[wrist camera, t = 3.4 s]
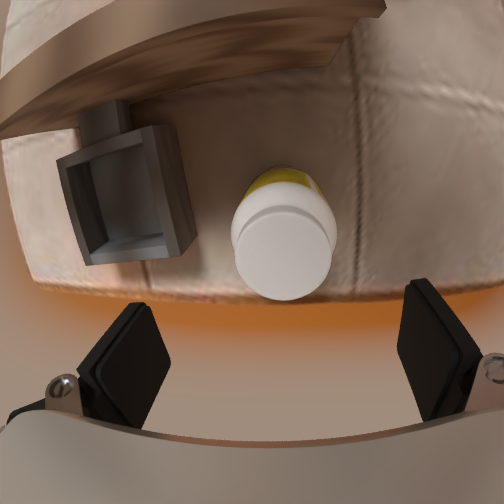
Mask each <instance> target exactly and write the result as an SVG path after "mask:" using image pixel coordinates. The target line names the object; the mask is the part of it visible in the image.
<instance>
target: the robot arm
mask: <svg viewBox="0 0 504 504" xmlns="http://www.w3.org/2000/svg"><path fill="white" fill-rule="evenodd" d="M397 351H398V355H399V357H400V360H401V362H402V365H403V367H404V370H405V373H406V375H407V378H408V381H409V383H410V386H411V389H412V391H413V394H414V397H415V400H416V402H417V406H418V408H419V411H420V414H421V418H422V420H423V422H422V423H418V424H414V425H410V426H405V427H400V428H396V429H390V430H384V431H379V432H373V433H367V434H361V435H354V436H346V437H338V438H330V439H329V438H328V439H317V440H301V441H274V442H273V441H272V442H271V441H270V442H269V441H267V442H266V441H265V442H264V441H263V442H262V441H261V442H260V441H258V442H257V441H230V440H215V439H203V438H194V437H185V436H177V435H170V434H163V433H157V432H151V431H146V430H141V428H142V426H143V424H144V422H145V420H146V418H147V415H148V413H149V411H150V409H151V407H152V405H153V402H154V400H155V398H156V396H157V394H158V392H159V390H160V387H161V385H162V383H163V381H164V379H165V377H166V375H167V372H168V370H169V368H170V365H171V360H170V357H169V354H168V352H167V349H166V347H165V344H164V342H163V340H162V337H161V334H160V332H159V329H158V327H157V324H156V321H155V319H154V316H153V313H152V311H151V308H150V307H149V306H147V305H146V304H145V303H144V302H136V303H135V302H134V303H130V304H128V306H127V307H126V308H125V309H124V310H123V312H122V313H121V314H120V315H119V316H118V317H117V319H116V320H115V321H114V322H113V324H112V325H111V326H110V327H109V329H108V330H107V331H106V332H105V333H104V335H103V336H102V337H101V338H100V340H99V341H98V342H97V343H96V345H95V346H94V347H93V348H92V350H91V351H90V352H89V354H88V355H87V356H86V358H85V359H84V360H83V361H82V363H81V364H80V365H79V367H78V368H77V372H78V373H79V375H80V377H79V378H78V379H77V377H76V376H75V375H72V374H63V375H60V376H58V377H56V378H54V379H53V380H52V381H51V382H50V383H49V384H48V386H47V388H46V392H45V398H44V399H42V400H40V401H37V402H34V403H32V404H29V405H27V406H24V407H22V408H19V409H17V410H15V411H13V412H12V413H11V414H10V415H9V418H8V420H7V425H6V427H5V425H4V426H2V427H1V428H0V504H504V354H501V353H490V354H488V355H485V356H483V355H482V353H481V352H480V349H479V347H478V346H477V344H476V343H475V341H474V340H473V338H472V337H471V336H470V334H469V333H468V331H467V330H466V329H465V327H464V326H463V324H462V323H461V322H460V320H459V319H458V318H457V316H456V315H455V314H454V312H453V311H452V310H451V308H450V307H449V306H448V304H447V303H446V302H445V300H444V299H443V298H442V297H441V295H440V294H439V293H438V292H437V290H436V289H435V288H434V287H433V285H432V284H431V283H430V282H429V281H428V279H426V278H422V279H415V280H411V281H410V284H409V285H406V287H405V295H404V304H403V311H402V318H401V324H400V331H399V336H398V342H397Z"/></svg>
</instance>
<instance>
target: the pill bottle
mask: <svg viewBox="0 0 504 504" xmlns="http://www.w3.org/2000/svg"><path fill="white" fill-rule="evenodd" d="M231 242H232V247H233V250H234V253H235V264H236V268H237V271H238V273H239V275H240V277H241V278H242V280H243V281H244V282H245V284H246V285H247V286H248V287H249V288H251V289H252V290H253V291H254V292H256V293H258V294H260V295H262V296H264V297H266V298H270V299H274V300H294V299H298V298H301V297H303V296H306V295H308V294H309V293H311V292H313V291H314V290H315V289H317V288H318V287H319V286H320V285H321V284H322V282H323V281H324V280H325V278H326V276H327V274H328V272H329V270H330V266H331V260H332V255H333V252H334V249H335V246H336V242H337V226H336V221H335V218H334V215H333V213H332V210H331V208H330V206H329V204H328V203H327V201H326V199H325V197H324V195H323V194H322V192H321V190H320V188H319V187H318V185H317V184H316V182H315V181H314V180H313V179H312V178H311V177H310V176H309V175H308V174H307V173H305V172H304V171H302V170H300V169H297V168H294V167H289V166H280V167H274V168H271V169H269V170H266V171H265V172H263V173H262V174H260V175H259V176H258V177H257V178H256V179H255V180H254V181H253V182H252V184H251V185H250V187H249V189H248V191H247V192H246V194H245V196H244V198H243V199H242V201H241V203H240V205H239V206H238V208H237V210H236V212H235V214H234V217H233V221H232V225H231Z"/></svg>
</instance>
